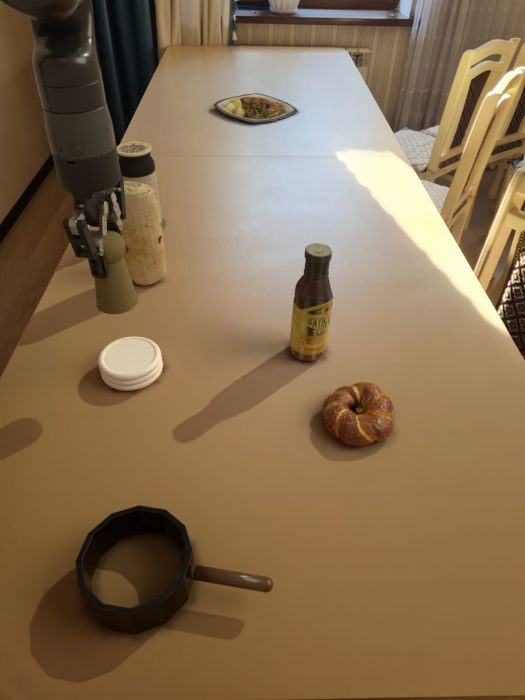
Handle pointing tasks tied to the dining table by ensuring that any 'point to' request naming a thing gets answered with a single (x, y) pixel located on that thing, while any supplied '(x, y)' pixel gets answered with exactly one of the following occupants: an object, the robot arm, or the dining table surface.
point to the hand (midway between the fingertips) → (109, 264)
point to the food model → (143, 234)
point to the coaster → (130, 363)
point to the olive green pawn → (115, 279)
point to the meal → (255, 108)
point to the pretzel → (358, 414)
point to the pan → (175, 595)
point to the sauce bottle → (312, 305)
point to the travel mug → (138, 165)
